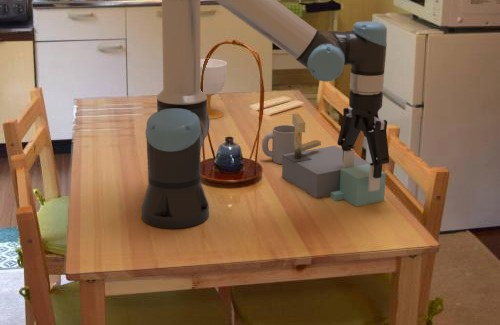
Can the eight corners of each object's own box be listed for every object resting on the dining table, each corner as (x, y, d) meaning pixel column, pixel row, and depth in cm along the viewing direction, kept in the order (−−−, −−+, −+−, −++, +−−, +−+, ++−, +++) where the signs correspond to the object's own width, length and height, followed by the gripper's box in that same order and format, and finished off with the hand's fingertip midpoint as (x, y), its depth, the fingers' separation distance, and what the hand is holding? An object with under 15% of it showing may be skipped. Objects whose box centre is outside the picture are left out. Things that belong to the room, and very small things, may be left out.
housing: (314, 198, 193) (315, 174, 191) (280, 177, 206) (280, 154, 204) (370, 186, 201) (372, 163, 198) (334, 167, 214) (335, 144, 212)
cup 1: (231, 111, 263) (231, 59, 257) (221, 121, 252) (221, 68, 246) (196, 109, 265) (195, 57, 260) (185, 118, 255) (184, 65, 249)
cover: (347, 208, 187) (348, 180, 185) (330, 198, 193) (331, 170, 191) (384, 200, 192) (385, 173, 190) (366, 190, 198) (368, 164, 196)
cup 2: (300, 164, 215) (301, 132, 212) (263, 165, 214) (263, 133, 211) (296, 155, 222) (297, 124, 219) (260, 156, 221) (260, 125, 218)
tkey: (327, 161, 199) (329, 122, 196) (297, 162, 198) (298, 123, 195) (319, 148, 208) (320, 111, 205) (290, 150, 207) (290, 112, 204)
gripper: (410, 100, 176) (402, 195, 184) (351, 79, 195) (346, 166, 202) (383, 103, 173) (376, 201, 180) (325, 82, 192) (321, 171, 199)
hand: (360, 183), depth 191 cm, fingers open, 10 cm apart
